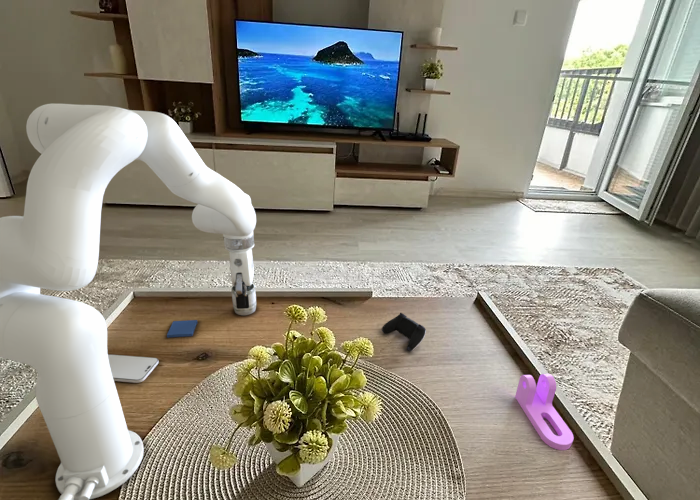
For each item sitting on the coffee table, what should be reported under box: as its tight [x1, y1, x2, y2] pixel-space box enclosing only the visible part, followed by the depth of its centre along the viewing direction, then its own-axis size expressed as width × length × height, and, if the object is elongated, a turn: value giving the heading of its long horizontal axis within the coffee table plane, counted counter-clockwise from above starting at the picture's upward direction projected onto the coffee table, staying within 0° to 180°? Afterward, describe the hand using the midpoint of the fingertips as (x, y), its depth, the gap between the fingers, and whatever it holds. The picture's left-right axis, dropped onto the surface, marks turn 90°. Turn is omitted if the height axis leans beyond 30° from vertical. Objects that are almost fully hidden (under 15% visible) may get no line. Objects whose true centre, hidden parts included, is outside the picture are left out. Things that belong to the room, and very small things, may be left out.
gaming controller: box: [381, 312, 427, 352], centre depth 100 cm, size 11×4×7 cm
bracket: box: [514, 373, 575, 451], centre depth 76 cm, size 13×6×7 cm, turn 6°
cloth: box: [166, 319, 198, 338], centre depth 101 cm, size 6×6×1 cm
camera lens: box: [230, 282, 257, 316], centre depth 109 cm, size 6×6×8 cm
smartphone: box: [108, 353, 160, 384], centre depth 87 cm, size 7×1×15 cm
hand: (244, 300), depth 109 cm, fingers closed on camera lens, 6 cm apart
